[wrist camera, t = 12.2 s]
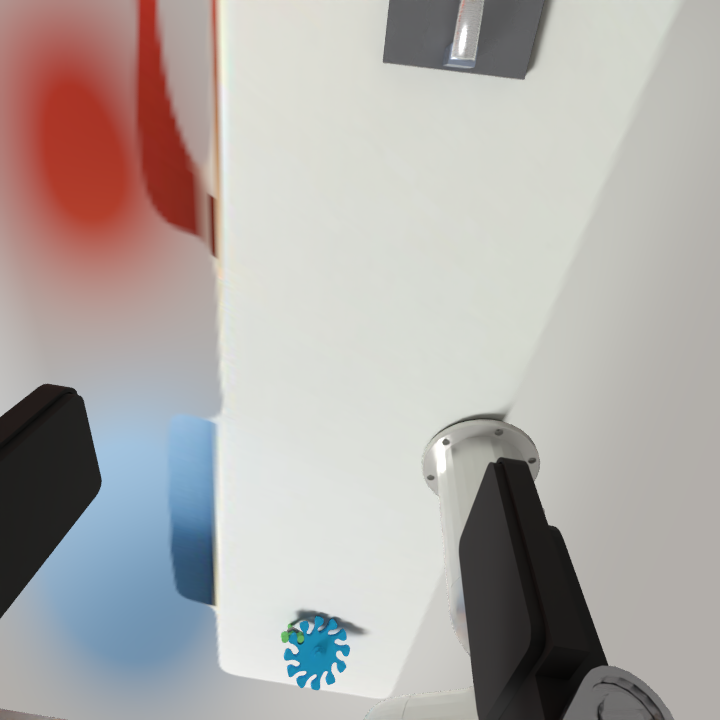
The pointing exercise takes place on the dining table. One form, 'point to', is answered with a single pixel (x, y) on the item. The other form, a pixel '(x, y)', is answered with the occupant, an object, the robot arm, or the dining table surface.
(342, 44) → the dining table surface
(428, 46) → the coupling stand
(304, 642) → the gear
